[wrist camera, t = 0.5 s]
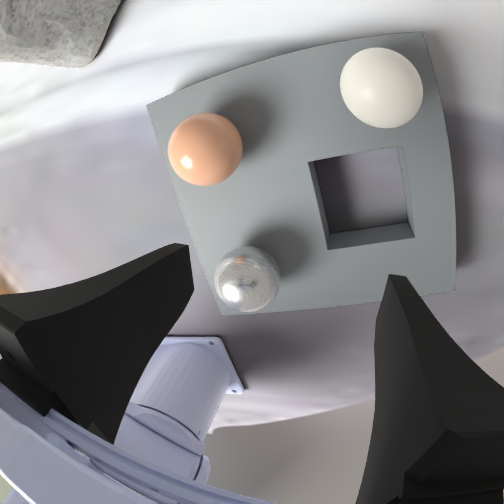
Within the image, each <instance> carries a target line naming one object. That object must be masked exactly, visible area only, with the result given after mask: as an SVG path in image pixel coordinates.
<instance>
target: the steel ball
mask: <svg viewBox="0 0 504 504" xmlns="http://www.w3.org/2000/svg"><path fill="white" fill-rule="evenodd" d="M214 283H215V288H216V291H217V293H218V296H219V297H220V299H221V300H222V301H223V302H224V303H225V304H226V305H227V306H228V307H230V308H232V309H234V310H236V311H239V312H245V313H250V312H256V311H259V310H261V309H264V308H265V307H267V306H268V305H269V304H271V302H272V301H273V300H274V299H275V297H276V296H277V294H278V292H279V289H280V285H281V274H280V270H279V267H278V265H277V263H276V261H275V260H274V258H273V257H272V256H271V255H270V254H269V253H267V252H266V251H264V250H262V249H260V248H257V247H253V246H242V247H238V248H235V249H233V250H231V251H229V252H228V253H227V254H225V255H224V256H223V257H222V258H221V260H220V261H219V263H218V265H217V267H216V270H215V276H214Z"/></svg>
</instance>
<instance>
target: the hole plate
mask: <svg viewBox="0 0 504 504" xmlns="http://www.w3.org/2000/svg"><path fill="white" fill-rule="evenodd" d="M376 47H377V48H386V49H390V50H393V51H395V52H397V53H399V54H401V55H403V56H404V57H405V58H407V59H408V60H409V61H410V62H411V63H412V64H413V66H414V67H415V68H416V70H417V72H418V74H419V76H420V78H421V81H422V86H423V99H422V103H421V106H420V108H419V110H418V112H417V113H416V115H415V116H414V117H413V118H412V119H411V120H410V121H408V122H407V123H405V124H403V125H401V126H398V127H395V128H378V127H374V126H370V125H368V124H366V123H364V122H362V121H361V120H359V119H358V118H357V117H356V116H355V115H353V114H352V112H351V111H350V110H349V109H348V107H347V106H346V104H345V102H344V100H343V97H342V95H341V90H340V77H341V73H342V70H343V68H344V66H345V64H346V63H347V61H348V60H349V59H350V58H351V57H352V56H353V55H355V54H356V53H358V52H359V51H362V50H364V49H368V48H376ZM146 106H147V109H148V112H149V115H150V119H151V122H152V125H153V128H154V131H155V134H156V137H157V141H158V144H159V147H160V150H161V153H162V156H163V159H164V162H165V165H166V168H167V171H168V174H169V176H170V179H171V182H172V185H173V188H174V191H175V194H176V197H177V199H178V202H179V205H180V208H181V211H182V213H183V216H184V219H185V222H186V225H187V227H188V230H189V233H190V235H191V238H192V241H193V243H194V246H195V249H196V251H197V254H198V257H199V259H200V262H201V265H202V267H203V270H204V272H205V275H206V278H207V280H208V283H209V285H210V288H211V290H212V293H213V295H214V298H215V300H216V303H217V305H218V308H219V310H220V313H221V315H222V316H224V315H241V314H257V313H271V312H284V311H296V310H308V309H318V308H328V307H338V306H347V305H356V304H365V303H373V302H381V301H382V298H383V294H384V291H385V287H386V283H387V279H388V275H389V274H394V275H401V276H406V277H407V278H408V280H409V281H410V283H411V284H412V285H413V287H414V288H415V290H416V291H417V293H418V294H419V296H425V295H431V294H438V293H444V292H450V291H455V279H456V214H455V197H454V184H453V174H452V165H451V157H450V149H449V142H448V136H447V130H446V124H445V119H444V113H443V108H442V104H441V99H440V94H439V90H438V86H437V82H436V78H435V74H434V70H433V67H432V63H431V59H430V56H429V53H428V49H427V46H426V43H425V40H424V37H423V34H422V32H408V33H397V34H388V35H380V36H372V37H365V38H359V39H352V40H347V41H341V42H336V43H331V44H326V45H321V46H316V47H312V48H307V49H303V50H299V51H295V52H291V53H287V54H283V55H280V56H276V57H273V58H269V59H266V60H262V61H259V62H256V63H252V64H249V65H246V66H243V67H240V68H237V69H234V70H231V71H228V72H225V73H223V74H220V75H217V76H214V77H212V78H209V79H206V80H204V81H201V82H199V83H196V84H194V85H191V86H189V87H186V88H184V89H181V90H179V91H177V92H174V93H172V94H170V95H168V96H165V97H163V98H161V99H159V100H156V101H154V102H152V103H150V104H148V105H146ZM198 113H215V114H218V115H221V116H223V117H225V118H226V119H228V120H229V121H231V122H232V123H233V124H234V126H235V127H236V128H237V130H238V132H239V133H240V136H241V139H242V144H243V154H242V158H241V161H240V164H239V166H238V167H237V169H236V171H235V172H234V173H233V174H232V175H231V176H230V177H229V178H228V179H226V180H225V181H223V182H221V183H219V184H216V185H211V186H197V185H193V184H190V183H188V182H186V181H185V180H183V179H182V178H180V177H179V176H178V175H177V174H176V173H175V171H174V170H173V168H172V166H171V164H170V161H169V158H168V143H169V139H170V136H171V134H172V132H173V131H174V129H175V128H176V126H177V125H178V124H179V123H180V122H181V121H183V120H184V119H186V118H187V117H189V116H191V115H194V114H198ZM391 147H397V148H398V153H399V159H400V165H401V171H402V177H403V184H404V191H405V199H406V207H407V216H408V223H401V224H394V225H387V226H380V227H373V228H367V229H360V230H353V231H346V232H340V233H333V234H330V233H329V228H328V223H327V218H326V213H325V209H324V204H323V200H322V195H321V191H320V187H319V182H318V178H317V174H316V170H315V166H314V162H313V161H315V160H320V159H325V158H331V157H336V156H342V155H347V154H353V153H359V152H365V151H371V150H377V149H384V148H391ZM242 246H253V247H257V248H260V249H262V250H264V251H266V252H267V253H269V254H270V255H271V256H272V257H273V258H274V260H275V261H276V263H277V265H278V267H279V270H280V274H281V285H280V289H279V292H278V294H277V296H276V297H275V299H274V300H273V301H272V302H271V304H269V305H268V306H267V307H265V308H264V309H261V310H259V311H256V312H250V313H245V312H239V311H236V310H234V309H232V308H230V307H228V306H227V305H226V304H225V303H224V302H223V301H222V300H221V299H220V297H219V296H218V293H217V291H216V288H215V283H214V276H215V270H216V267H217V265H218V263H219V261H220V260H221V258H222V257H223V256H224V255H225V254H227V253H228V252H229V251H231V250H233V249H235V248H238V247H242Z"/></svg>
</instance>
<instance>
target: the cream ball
mask: <svg viewBox="0 0 504 504" xmlns="http://www.w3.org/2000/svg"><path fill="white" fill-rule="evenodd" d="M340 90H341V95H342V97H343V100H344V102H345V104H346V106H347V107H348V109H349V110H350V111H351V112H352V114H353V115H355V116H356V117H357V118H358V119H359V120H361V121H362V122H364V123H366V124H368V125H370V126H374V127H378V128H395V127H398V126H401V125H403V124H405V123H407V122H408V121H410V120H411V119H412V118H413V117H414V116H415V115H416V113H417V112H418V110H419V108H420V106H421V103H422V99H423V86H422V81H421V78H420V76H419V74H418V72H417V70H416V68H415V67H414V66H413V64H412V63H411V62H410V61H409V60H408V59H407V58H405V57H404V56H403V55H401V54H399V53H397V52H395V51H393V50H390V49H386V48H377V47H376V48H368V49H364V50H362V51H359V52H358V53H356V54H355V55H353V56H352V57H351V58H350V59H349V60H348V61H347V63H346V64H345V66H344V68H343V70H342V73H341V77H340Z"/></svg>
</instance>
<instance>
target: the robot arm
mask: <svg viewBox="0 0 504 504" xmlns="http://www.w3.org/2000/svg"><path fill="white" fill-rule="evenodd" d="M193 292H194V284H193V276H192V269H191V262H190V254H189V246H188V245H184V244H177V243H173V244H170V245H167V246H164V247H162V248H159V249H157V250H155V251H153V252H150V253H148V254H146V255H144V256H141V257H139V258H137V259H135V260H133V261H130V262H128V263H126V264H123V265H121V266H119V267H116V268H114V269H112V270H109V271H107V272H105V273H102V274H99V275H97V276H94V277H91V278H88V279H85V280H82V281H79V282H75V283H71V284H68V285H64V286H60V287H56V288H51V289H46V290H41V291H35V292H27V293H17V294H3V295H0V354H1V356H2V357H3V358H2V359H1V360H0V474H1V475H2V477H3V478H4V479H5V480H6V481H7V482H8V483H9V484H10V485H11V486H12V487H13V488H12V490H11V491H10V492H9V494H8V495H7V497H6V498H5V500H4V501H3V503H2V504H277V503H272V502H268V501H263V500H259V499H255V498H251V497H247V496H243V495H240V494H236V493H232V492H229V491H225V490H222V489H219V488H216V487H213V486H209V485H206V483H207V480H208V478H209V475H210V470H211V466H210V463H209V458H208V457H207V456H205V455H203V452H204V449H205V447H206V444H204V443H202V442H203V440H204V438H205V436H206V434H207V432H208V430H209V427H210V425H211V423H212V421H213V419H214V417H215V414H216V412H217V410H218V408H219V406H220V403H221V401H222V399H223V397H224V395H225V393H228V394H243V393H244V388H243V386H242V384H241V381H240V379H239V377H238V375H237V373H236V371H235V368H234V366H233V364H232V362H231V360H230V357H229V355H228V353H227V351H226V349H225V346H224V344H223V342H222V340H221V339H220V338H218V337H166V336H167V334H168V333H169V331H170V330H171V329H172V327H173V326H174V324H175V323H176V321H177V320H178V319H179V317H180V316H181V314H182V313H183V311H184V310H185V308H186V306H187V304H188V302H189V300H190V298H191V296H192V294H193ZM211 341H212V342H211ZM374 352H375V413H374V420H373V428H372V434H371V440H370V446H369V451H368V457H367V462H366V466H365V470H364V475H363V479H362V483H361V486H360V490H359V494H358V497H357V501H356V504H504V498H503V489H504V388H503V387H502V386H501V385H500V384H498V383H497V382H496V381H495V380H493V379H492V378H491V377H490V376H489V375H487V374H486V373H485V372H484V371H483V370H482V369H481V368H480V367H479V366H478V365H477V364H476V363H475V362H473V361H472V360H471V359H470V358H469V357H468V356H467V355H466V353H465V352H464V351H463V350H462V349H461V348H460V347H459V346H458V345H457V344H456V343H455V341H454V340H453V339H452V338H451V337H450V336H449V334H448V333H447V332H446V331H445V329H444V328H443V327H442V326H441V324H440V323H439V322H438V321H437V319H436V318H435V317H434V315H433V314H432V313H431V311H430V310H429V308H428V307H427V306H426V304H425V303H424V301H423V300H422V299H421V297H420V296H419V294H418V293H417V291H416V290H415V288H414V287H413V285H412V284H411V283H410V281H409V280H408V278H407V277H406V276H401V275H394V274H389V275H388V279H387V283H386V287H385V291H384V294H383V298H382V302H381V305H380V309H379V312H378V316H377V319H376V329H375V342H374ZM75 449H76V450H77V451H79V452H80V453H79V452H77V451H76V450H75ZM103 472H104V473H105V474H107V475H109V476H110V477H112V478H113V479H115V480H117V481H119V482H120V483H122V484H124V485H125V486H127V487H129V488H131V489H132V490H134V491H136V492H138V493H139V494H141V495H143V496H145V497H147V498H149V499H151V500H153V501H151V500H149V499H147V498H145V497H142V496H141V495H139V494H137V493H135V492H133V491H132V490H130V489H128V488H126V487H125V486H123V485H121V484H119V483H118V482H116V481H114V480H113V479H111V478H110V477H108V476H106V475H105V474H104V473H103ZM154 501H155V502H154Z"/></svg>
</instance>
